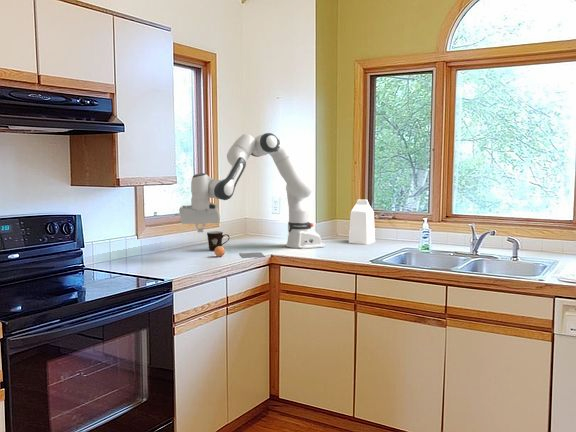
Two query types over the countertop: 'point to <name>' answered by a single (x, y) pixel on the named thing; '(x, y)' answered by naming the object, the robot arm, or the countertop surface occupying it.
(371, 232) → the milk
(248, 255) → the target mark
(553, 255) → the countertop surface
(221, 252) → the ball
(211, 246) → the coffee mug
